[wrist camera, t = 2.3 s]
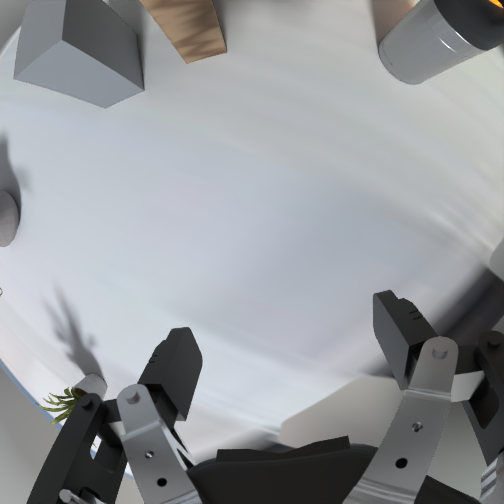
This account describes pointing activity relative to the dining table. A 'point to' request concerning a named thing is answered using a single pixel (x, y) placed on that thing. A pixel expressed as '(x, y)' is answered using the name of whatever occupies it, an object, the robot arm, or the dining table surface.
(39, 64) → the pedestal
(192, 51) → the stand
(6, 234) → the coffee pot
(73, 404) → the house plant
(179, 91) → the dining table surface
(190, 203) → the dining table surface
